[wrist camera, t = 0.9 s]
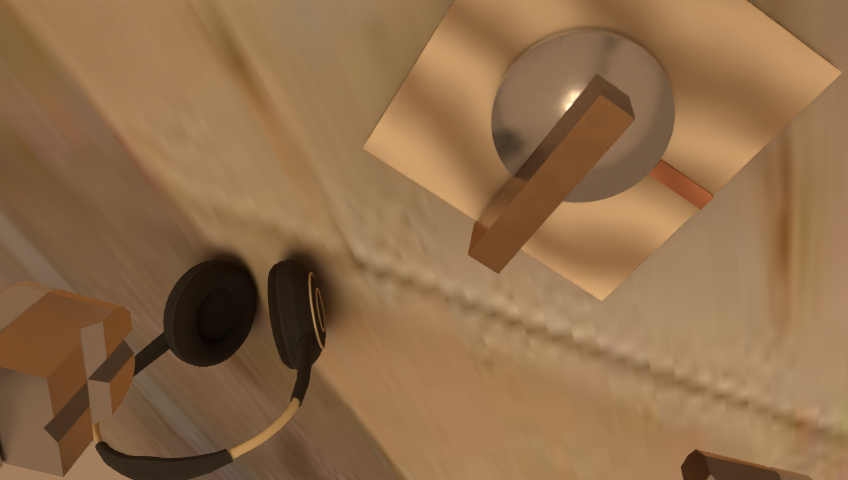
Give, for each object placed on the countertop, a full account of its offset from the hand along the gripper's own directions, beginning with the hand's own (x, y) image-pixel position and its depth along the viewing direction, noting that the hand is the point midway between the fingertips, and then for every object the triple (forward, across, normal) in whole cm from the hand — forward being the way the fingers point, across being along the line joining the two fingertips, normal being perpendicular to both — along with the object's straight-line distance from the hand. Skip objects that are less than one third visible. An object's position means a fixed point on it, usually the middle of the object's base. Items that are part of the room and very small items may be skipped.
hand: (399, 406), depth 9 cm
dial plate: (+36, -6, +6) cm, 37 cm away
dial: (+34, -5, +8) cm, 35 cm away
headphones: (+37, +14, +27) cm, 48 cm away
